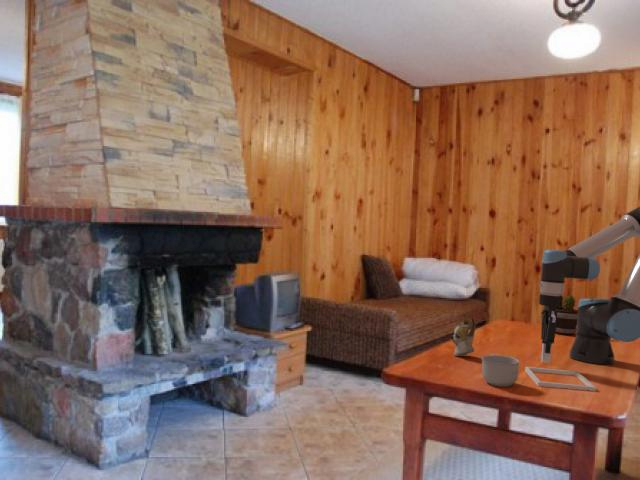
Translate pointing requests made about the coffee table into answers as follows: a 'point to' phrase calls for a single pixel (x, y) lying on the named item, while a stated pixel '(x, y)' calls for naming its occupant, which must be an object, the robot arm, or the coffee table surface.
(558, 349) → the coffee table surface
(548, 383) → the grey square frame
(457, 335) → the ceramic sculpture
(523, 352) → the coffee table surface
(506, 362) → the teacup
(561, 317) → the flowerpot
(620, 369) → the coffee table surface
